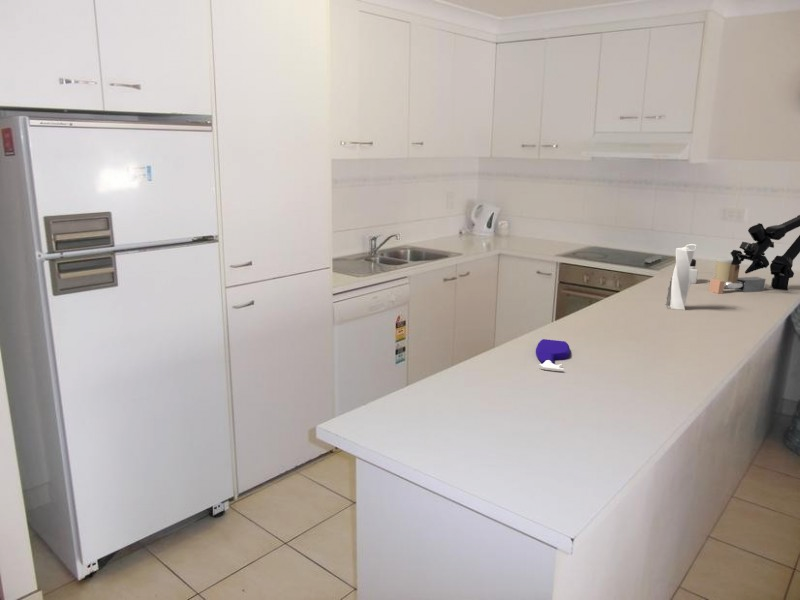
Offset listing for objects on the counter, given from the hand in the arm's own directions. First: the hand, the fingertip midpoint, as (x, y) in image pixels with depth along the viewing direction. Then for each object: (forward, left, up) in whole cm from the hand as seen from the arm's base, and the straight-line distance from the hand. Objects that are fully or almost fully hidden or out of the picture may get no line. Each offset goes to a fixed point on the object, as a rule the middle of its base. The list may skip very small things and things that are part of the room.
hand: (737, 271), depth 298 cm
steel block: (-7, -6, -10) cm, 13 cm away
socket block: (+8, +7, -10) cm, 15 cm away
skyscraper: (+24, +49, -10) cm, 56 cm away
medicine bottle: (+21, -11, -10) cm, 26 cm away
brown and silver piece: (-2, -2, -9) cm, 9 cm away
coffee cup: (+4, -22, -10) cm, 24 cm away
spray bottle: (+59, +140, -10) cm, 153 cm away
